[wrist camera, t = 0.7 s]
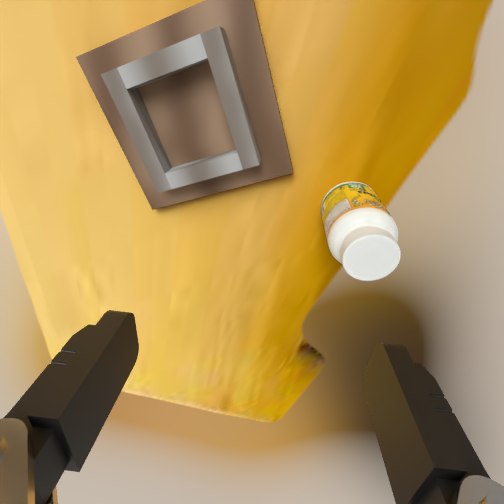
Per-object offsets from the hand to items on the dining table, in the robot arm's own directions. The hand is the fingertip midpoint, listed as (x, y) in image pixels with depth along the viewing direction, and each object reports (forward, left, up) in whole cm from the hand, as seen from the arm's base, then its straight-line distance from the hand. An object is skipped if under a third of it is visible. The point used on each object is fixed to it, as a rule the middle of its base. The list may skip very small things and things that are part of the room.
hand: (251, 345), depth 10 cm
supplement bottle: (-6, +6, -22) cm, 23 cm away
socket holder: (+6, -6, -22) cm, 23 cm away
